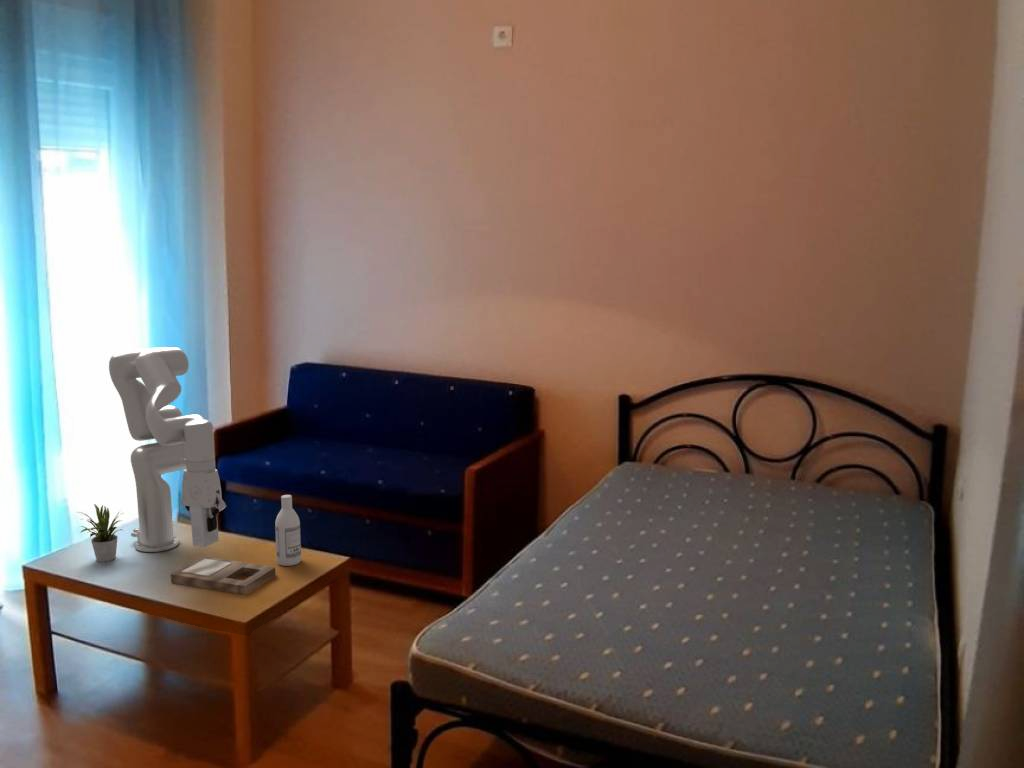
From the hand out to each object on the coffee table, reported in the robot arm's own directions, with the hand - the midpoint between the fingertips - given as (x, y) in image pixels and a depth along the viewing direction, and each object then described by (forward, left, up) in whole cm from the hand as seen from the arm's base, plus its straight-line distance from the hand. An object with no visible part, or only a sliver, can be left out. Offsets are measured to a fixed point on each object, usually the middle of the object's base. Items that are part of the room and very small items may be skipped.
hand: (204, 528), depth 256 cm
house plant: (-38, +1, -14) cm, 40 cm away
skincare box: (0, 0, -5) cm, 5 cm away
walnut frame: (+5, 0, -14) cm, 15 cm away
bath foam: (+15, +17, -14) cm, 27 cm away
